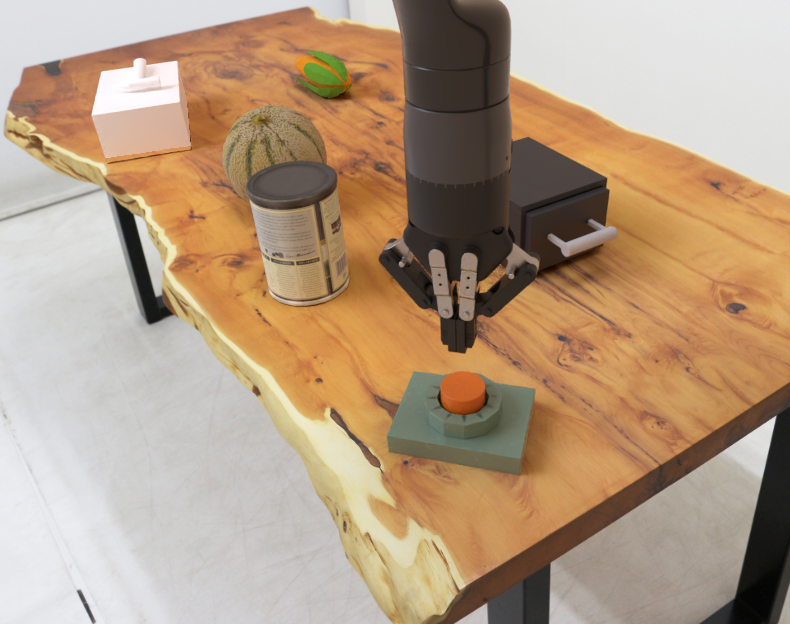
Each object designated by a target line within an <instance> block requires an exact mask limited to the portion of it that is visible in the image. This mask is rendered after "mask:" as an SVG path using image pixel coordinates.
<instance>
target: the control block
mask: <svg viewBox="0 0 790 624" xmlns="http://www.w3.org/2000/svg"><path fill="white" fill-rule="evenodd" d="M451 373H452V372H451ZM451 373H445V374H438V373H431V372H425V371H417V370H413V372H412V373H411V377H410V379H409V381H408V383H407V386H406V388H405V391H404V393H403V396H402V398H401V400H400V403H399V406H398V408H397V410H396V413H395V415H394V418H393V419H392V422H391V425H390V427H389V429H388V432H387V434H386V441H387V449H388V453H394V454H399V455H404V456H410V457H415V458H421V459H426V460H431V461H432V460H433V461H438V462H444V463H447V464H448V463H450V464H453V465H459V466H465V467H471V468H477V469H482V470H487V471H493V472H499V473H503V474H509V475H516V476H521V473H522V469H523V468H522V467H523V464H524V460H525V459H524V458H525V454H526V449H527V444H528V439H529V435H530V430H531V424H532V420H533V415H534V410H535V405H536V390H537V389H536V388H532V387H528V386H520V385H515V384H514V385H513V384H506V383H499V382H495V381H493V380H492V379H490V378H488V377H486V376H485V375H483V374H482V373H477V372H473V373H474V374H477V375H478V376H480V377H481V378H482V379H483V381H484V383H485V404H484V406H483V407H482V408H481V409H480V410H479V411H478V412H476V413H473V414H469V415H458V414H453V413H450V412H449V411H447V410H446V409H445V408H444V407H443V405H442V403H441V390H440V385H441V382H442V380H443V379H444V378H445V377H446V376H447V375H449V374H451Z"/></svg>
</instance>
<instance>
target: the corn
mask: <svg viewBox="0 0 790 624" xmlns="http://www.w3.org/2000/svg"><path fill="white" fill-rule="evenodd" d="M307 53H308V54H311V55H300V56H299V57H298V58H297V59H296V60H295V68H296V69H297V71H298V73H299V74H300V75H301V76H302V77H303V78H304V79H305V80H306V81H307V82H306V81H303V80H301V79H299V78H298V77H296V76H293V78H294V80H296V81H297V83H299V84H300V85H302V86H304V87H305V88H306V89H309V90H310V91H312V92H313V93H315V94H317V95H318V96H320V97H323V98H326V97H328V98H327V99H332V98H335V97H338V96H344V95H345V94H346V93H348V92H349V90H350V89H351V88H352V82H353V81H352V77H351V75H350V72H349V70H348V68H347V67H346V64H345V63H344V62H343V61H341V60H339V58H336V57H335V56H333V55H331V54H330V53H327V52H323V51H319V50H311V49H309V50H308V51H307ZM339 94H341V95H339Z"/></svg>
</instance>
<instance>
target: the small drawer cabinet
mask: <svg viewBox="0 0 790 624" xmlns="http://www.w3.org/2000/svg"><path fill="white" fill-rule="evenodd" d="M607 185H608V177H607V176H605V175H604V174H601V173H599V172H598V171H595V170H593V169H592V168H590V167H588V166H585V165H584V164H582V163H580V162H578V161H577V160H574V159H572V158H571V157H569V156H567V155H564V154H563V153H561V152H559V151H557V150H555V149H553V148H551V147H549V146H547V145H545V144H543V143H542V142H539V141H537V140H535V139H534V138H532V137H530V136H526V137H522V138H519V139H516V140H513V153H512V155H511V173H510V201H509V224H510V227H511V229H512V230H513V232H514V235H515V243H514V244H516V245H517V246H518V247H520V248H521V249H522V250H523V251H524V237H525V214H526V211H529V210H532V209H535V208H538V207H541V206H543V205H546V204H549V203H552V202H555V201H558V200H561V199H564V198H567V197H570V196H573V195H576V194H578V193H581V192H584V191H587V190H590V191H591V190H594V189H596V188H599V187H602V186H604V187H605V188H608V187H607ZM507 262H508V260H507V259H505V260H504V261H503V262H502V263H501V264H500V265H502V266H503V267H505V268H506V265H507Z"/></svg>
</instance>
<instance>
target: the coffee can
mask: <svg viewBox="0 0 790 624" xmlns="http://www.w3.org/2000/svg"><path fill="white" fill-rule="evenodd" d="M337 184H338V174H337V172H336V170H335V169H334V168H333V167H332V166H330V165H329V164H328V163H327V164H324V163H320V162H315V161H290V162H284V163H279V164H276V165H272V166H269V167H267V168H265V169H262V170H260V171H258V172H257V173H255V174H254V175H253V176H251V177H250V178H249V180H248V181H247V183H246V191H247V194H248V196H249V200H250V204H249V205H250V208H251V213H252V217H253V222H254V225H255V231H256V235H257V241H258V246H259V249H260V255H261V258H262V264H263V268H264V272H265V278H266V282H267V290H268V293H269V295H270V296H271V297H272V298H273V299H274V300H276V301H277V302H279V303H281V304H284V305H287V306H293V307H294V306H295V307H308V306H315V305H319V304H323V303H327V302H329V301H330V300H334V299H335V298H337V297H338V296H340V295H341V294H342V293H343V292H344V291H345V290H346V289H347V288H348V286H349V284H350V279H351V276H350V275H351V274H350V271H349V265H348V257H347V249H346V243H345V236H344V235H345V234H344V228H343V221H342V214H341V213H342V212H341V206H340V199H339V191H338V185H337Z"/></svg>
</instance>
